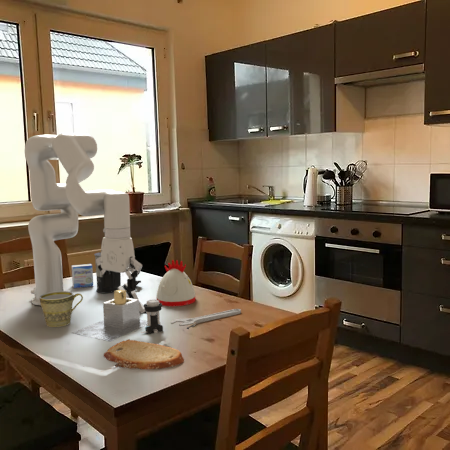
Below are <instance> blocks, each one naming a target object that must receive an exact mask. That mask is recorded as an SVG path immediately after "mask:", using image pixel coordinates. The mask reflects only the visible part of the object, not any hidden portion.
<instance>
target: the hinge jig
mask: <svg viewBox="0 0 450 450" xmlns="http://www.w3.org/2000/svg"><path fill="white" fill-rule="evenodd" d="M138 299H139V298H138ZM138 299H132V298H126V303H124V304H116V303H114V298H112V299H109V300H107V301H104V302H103V303H102V310H103V320H100V321H98V322H95V323H93V324H91V325H88V326H85V327H82V328H80V329H78V330H75V331H73V332H71V334H74V335H79V336H82V337H88V338H91V339H92V338H94V339H97V340H103V341H106V342H112V341H114V340H117V339H119V338H120V337H121V338H122V337H123V336H125V335H127V334H128V335H129V334H130V333H132V332H135V331H136V330H139V329H141V328H143V327H146V326H147V320H145V319H141V318H140V317H141V316H140V314H141V313H140V312H139V301H140V299H139V300H138Z"/></svg>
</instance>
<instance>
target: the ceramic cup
mask: <svg viewBox="0 0 450 450" xmlns="http://www.w3.org/2000/svg"><path fill="white" fill-rule="evenodd" d="M78 296H80V297H81V299H80V301H78V302H77V303H76V304H75V305H74V307H73V302H74V300H75V298H76V297H78ZM39 298H40V303H41V309H42V314H43V317H44V321H45V325H46V326H47V327H50V328H60V327H65V326H67V325H69V324H71V319H72V313H73V312H74V310H75V309H76V308H77V306H79V304H81V303H82V301H83V300H84V296H83V295H82V294H81V293H75V294H74V292H73V291H68V290H64V291H54V292H48V293H45V294H42V295H40V297H39Z"/></svg>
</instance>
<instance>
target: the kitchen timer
mask: <svg viewBox="0 0 450 450" xmlns="http://www.w3.org/2000/svg"><path fill="white" fill-rule="evenodd" d="M183 264H184V263H183V260H180V263H179V260H178V259H176V260H174V259H172V260H171V262H167V265H168V267H167V265H164V269H165V271H166V273H165V274H164V275H163V276H162V277H161V280H160V281H159V284H158V288H157V290H156V299H155V300H158V301H159V303H162V307H163V306H164V307H181V306H187V305H190V304H194V303H195V302H196V292H195V288H194V286H193V283H192V280H191V279H190V277H189V276H188V274H186V272H185V270H186V266H187V264H186V263H185V264H184V265H183Z"/></svg>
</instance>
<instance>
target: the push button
mask: <svg viewBox="0 0 450 450" xmlns="http://www.w3.org/2000/svg"><path fill="white" fill-rule="evenodd" d="M143 306H144V308H145V311H146V312H147V314H146V319H147V320H146V321H147V325H145V326H144V329H145V331H140V333H141V334H144V333H145V334H147V335H151V334H158V333H160V332H163V331H164V326H163V325H162V324H161V322H160V311H161V310H162V309H163V305H162V303H159V301H158V300H157V299H149V300H147V301H146V303H144V304H143Z"/></svg>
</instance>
